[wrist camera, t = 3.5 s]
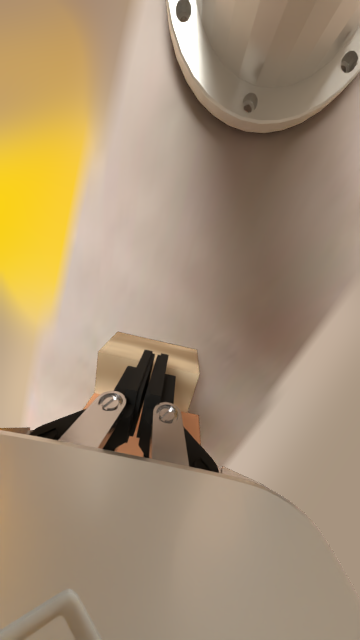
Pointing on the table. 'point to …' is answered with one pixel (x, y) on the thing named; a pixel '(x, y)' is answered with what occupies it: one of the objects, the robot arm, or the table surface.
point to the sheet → (129, 352)
